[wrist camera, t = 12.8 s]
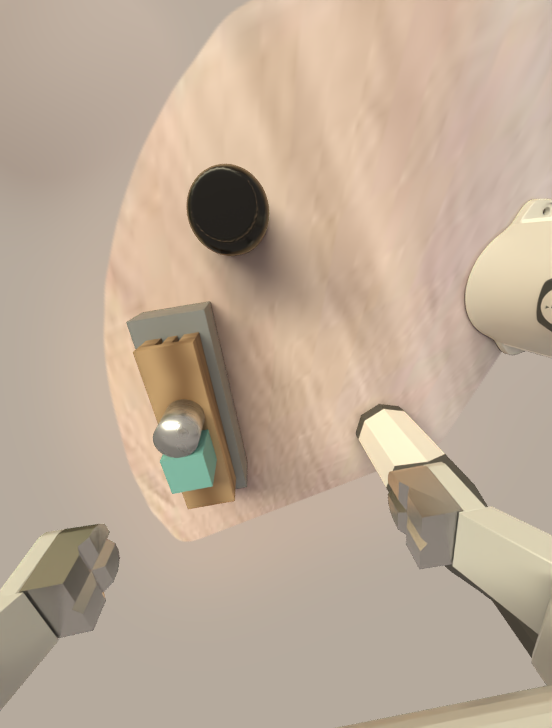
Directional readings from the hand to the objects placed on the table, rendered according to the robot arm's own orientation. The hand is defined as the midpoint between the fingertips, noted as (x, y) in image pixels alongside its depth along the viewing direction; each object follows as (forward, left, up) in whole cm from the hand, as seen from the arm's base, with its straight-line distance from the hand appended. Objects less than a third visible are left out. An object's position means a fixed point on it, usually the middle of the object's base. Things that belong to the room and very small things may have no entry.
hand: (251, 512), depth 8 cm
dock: (+8, +10, -29) cm, 32 cm away
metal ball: (+8, +8, -20) cm, 23 cm away
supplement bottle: (0, -10, -29) cm, 31 cm away
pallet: (+8, +10, -24) cm, 27 cm away
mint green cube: (+8, +12, -20) cm, 25 cm away
